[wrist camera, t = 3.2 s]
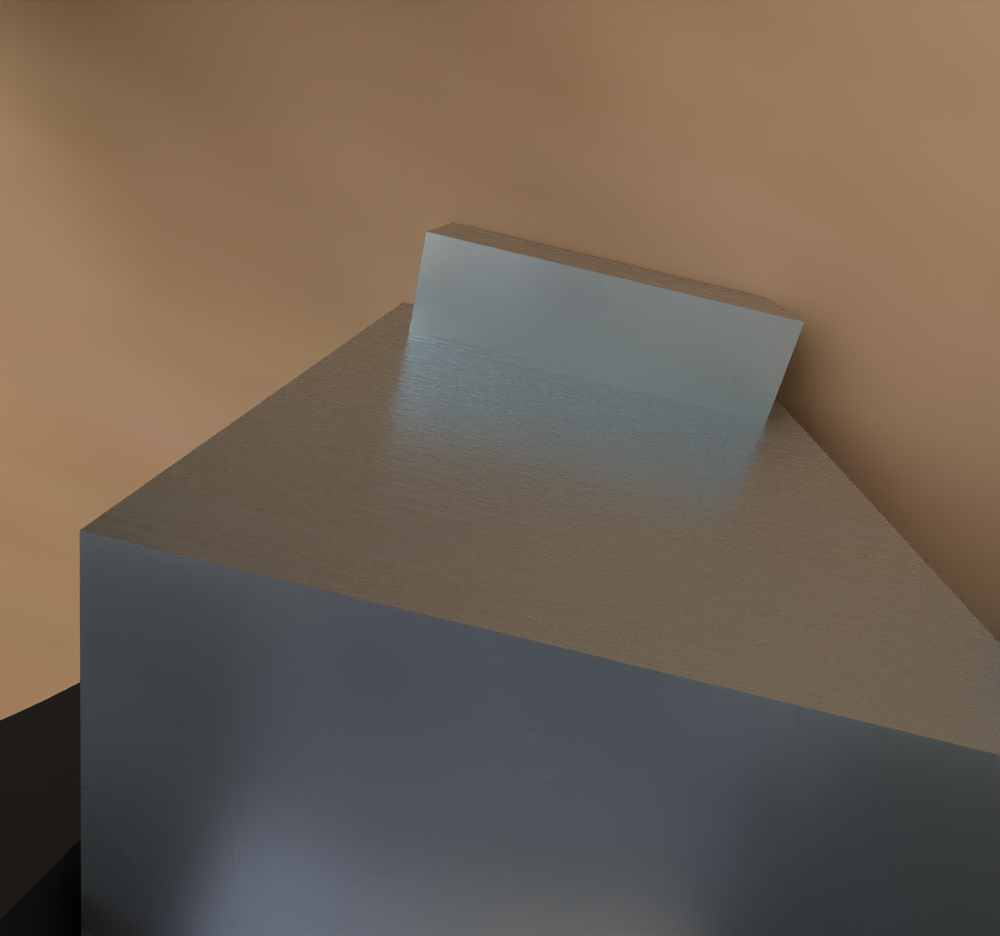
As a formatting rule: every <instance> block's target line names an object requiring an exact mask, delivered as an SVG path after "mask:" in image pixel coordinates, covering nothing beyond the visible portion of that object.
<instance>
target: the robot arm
mask: <svg viewBox="0 0 1000 936" xmlns="http://www.w3.org/2000/svg"><path fill="white" fill-rule="evenodd" d="M0 936H81V722H80V683H78V684H76V685H74V686H72V687H70V688H68V689H66V690H64V691H62V692H60V693H58V694H56V695H54V696H52V697H50V698H48V699H46V700H44V701H42V702H40V703H38V704H36V705H34V706H31V707H29V708H27V709H25V710H23V711H21V712H19V713H16V714H14V715H12V716H10V717H7V718H5V719H3V720H1V721H0Z"/></svg>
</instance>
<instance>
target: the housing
mask: <svg viewBox="0 0 1000 936" xmlns="http://www.w3.org/2000/svg"><path fill="white" fill-rule="evenodd" d="M803 325H804V322H803V321H802V320H800V319H798V318H797V317H795V316H794V315H792V314H790V313H789V312H787V311H786V310H784V309H782V308H781V307H779V306H778V305H776V304H774V303H773V302H771V301H770V300H768V299H766V298H764V297H759V296H755V295H751V294H747V293H743V292H739V291H734V290H730V289H726V288H722V287H718V286H713V285H709V284H705V283H701V282H697V281H693V280H688V279H684V278H680V277H676V276H672V275H667V274H663V273H659V272H655V271H651V270H647V269H642V268H638V267H634V266H630V265H626V264H622V263H617V262H613V261H609V260H605V259H601V258H596V257H592V256H588V255H584V254H580V253H576V252H571V251H567V250H563V249H559V248H555V247H550V246H546V245H542V244H538V243H534V242H530V241H525V240H521V239H517V238H513V237H509V236H505V235H500V234H496V233H492V232H488V231H484V230H479V229H475V228H471V227H467V226H463V225H459V224H454V223H450V224H447V225H444V226H441V227H439V228H436V229H433V230H430V231H427V232H426V237H425V243H424V249H423V254H422V260H421V266H420V272H419V278H418V283H417V289H416V295H415V301H414V305H410V304H406V303H401V304H400V305H399V306H397V307H396V308H394V309H393V310H391V311H390V312H389V313H387V314H386V315H384V316H383V317H382V318H380V319H379V320H377V321H376V322H374V323H373V324H372V325H370V326H369V327H367V328H366V329H365V330H363V331H362V332H360V333H359V334H357V335H356V336H355V337H353V338H352V339H350V340H349V341H347V342H346V343H345V344H343V345H342V346H340V347H339V348H338V349H336V350H335V351H333V352H332V353H330V354H329V355H328V356H326V357H325V358H323V359H322V360H321V361H319V362H318V363H316V364H315V365H313V366H312V367H311V368H309V369H308V370H306V371H305V372H304V373H302V374H301V375H299V376H298V377H296V378H295V379H294V380H292V381H291V382H289V383H288V384H287V385H285V386H284V387H282V388H281V389H279V390H278V391H277V392H275V393H274V394H272V395H271V396H270V397H268V398H267V399H265V400H264V401H262V402H261V403H260V404H258V405H257V406H255V407H254V408H253V409H251V410H250V411H248V412H247V413H245V414H244V415H243V416H241V417H240V418H238V419H237V420H235V421H234V422H233V423H231V424H230V425H228V426H227V427H226V428H224V429H223V430H221V431H220V432H218V433H217V434H216V435H214V436H213V437H211V438H210V439H209V440H207V441H206V442H204V443H203V444H201V445H200V446H199V447H197V448H196V449H194V450H193V451H192V452H190V453H189V454H187V455H186V456H184V457H183V458H182V459H180V460H179V461H177V462H176V463H175V464H173V465H172V466H170V467H169V468H167V469H166V470H165V471H163V472H162V473H160V474H159V475H158V476H156V477H155V478H153V479H152V480H150V481H149V482H148V483H146V484H145V485H143V486H142V487H141V488H139V489H138V490H136V491H135V492H133V493H132V494H131V495H129V496H128V497H126V498H125V499H123V500H122V501H121V502H119V503H118V504H116V505H115V506H114V507H112V508H111V509H109V510H108V511H106V512H105V513H104V514H102V515H101V516H99V517H98V518H97V519H95V520H94V521H92V522H91V523H89V524H88V525H87V526H85V527H84V528H82V529H81V530H80V722H81V936H1000V643H999V642H998V641H997V640H996V639H995V638H994V637H993V636H992V634H991V633H990V632H989V631H988V630H987V629H986V628H985V627H984V626H983V625H982V623H981V622H980V621H979V620H978V619H977V618H976V617H975V616H974V615H973V614H972V613H971V611H970V610H969V609H968V608H967V607H966V606H965V605H964V604H963V603H962V602H961V601H960V599H959V598H958V597H957V596H956V595H955V594H954V593H953V592H952V591H951V590H950V588H949V587H948V586H947V585H946V584H945V583H944V582H943V581H942V580H941V579H940V578H939V576H938V575H937V574H936V573H935V572H934V571H933V570H932V569H931V568H930V567H929V566H928V564H927V563H926V562H925V561H924V560H923V559H922V558H921V557H920V556H919V555H918V553H917V552H916V551H915V550H914V549H913V548H912V547H911V546H910V545H909V544H908V543H907V541H906V540H905V539H904V538H903V537H902V536H901V535H900V534H899V533H898V532H897V531H896V529H895V528H894V527H893V526H892V525H891V524H890V523H889V522H888V521H887V520H886V518H885V517H884V516H883V515H882V514H881V513H880V512H879V511H878V510H877V509H876V508H875V506H874V505H873V504H872V503H871V502H870V501H869V500H868V499H867V498H866V497H865V496H864V494H863V493H862V492H861V491H860V490H859V489H858V488H857V487H856V486H855V485H854V483H853V482H852V481H851V480H850V479H849V478H848V477H847V476H846V475H845V474H844V473H843V471H842V470H841V469H840V468H839V467H838V466H837V465H836V464H835V463H834V462H833V461H832V459H831V458H830V457H829V456H828V455H827V454H826V453H825V452H824V451H823V450H822V448H821V447H820V446H819V445H818V444H817V443H816V442H815V441H814V440H813V439H812V438H811V436H810V435H809V434H808V433H807V432H806V431H805V430H804V429H803V428H802V427H801V426H800V424H799V423H798V422H797V421H796V420H795V419H794V418H793V417H792V416H791V415H790V413H789V412H788V411H787V410H786V409H785V408H784V407H783V406H782V405H781V404H780V403H779V401H778V400H777V399H776V395H777V393H778V390H779V387H780V385H781V382H782V380H783V377H784V374H785V372H786V369H787V366H788V364H789V361H790V359H791V356H792V353H793V351H794V348H795V346H796V343H797V340H798V338H799V335H800V332H801V330H802V327H803Z"/></svg>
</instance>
